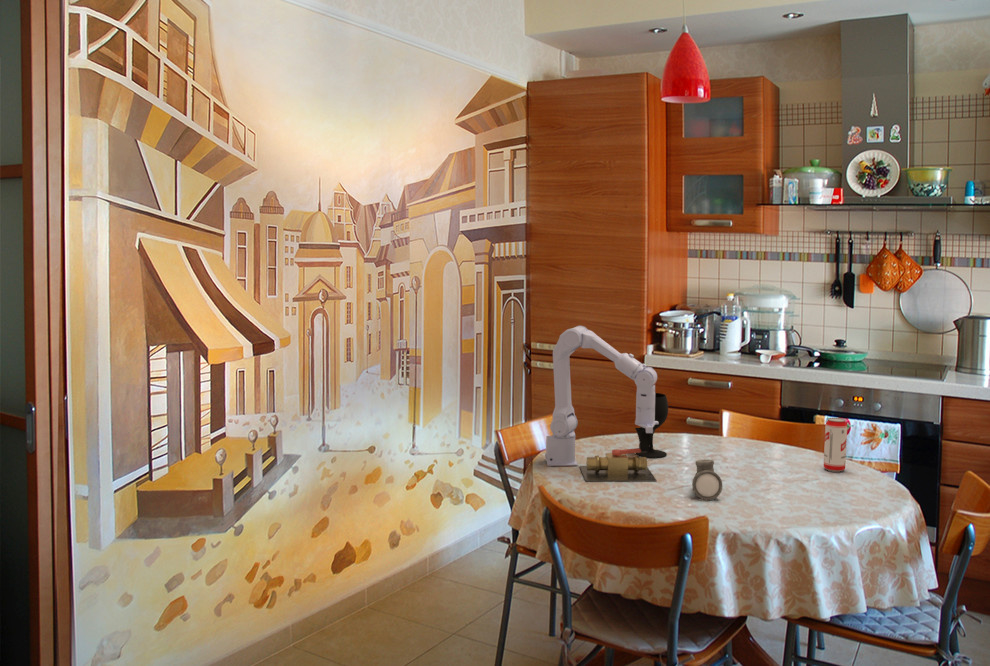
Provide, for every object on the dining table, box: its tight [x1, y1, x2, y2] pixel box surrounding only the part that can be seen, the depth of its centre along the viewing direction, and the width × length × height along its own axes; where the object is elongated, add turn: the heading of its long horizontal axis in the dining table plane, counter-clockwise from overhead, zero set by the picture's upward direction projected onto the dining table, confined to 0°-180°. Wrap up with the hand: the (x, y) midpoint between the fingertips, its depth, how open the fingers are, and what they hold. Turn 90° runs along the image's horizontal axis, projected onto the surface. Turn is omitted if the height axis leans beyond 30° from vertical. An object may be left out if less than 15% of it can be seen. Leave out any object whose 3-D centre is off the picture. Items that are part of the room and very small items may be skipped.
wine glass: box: [634, 392, 669, 459], centre depth 282 cm, size 10×10×20 cm
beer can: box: [823, 417, 848, 473], centre depth 263 cm, size 6×6×16 cm
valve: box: [579, 452, 658, 483], centre depth 260 cm, size 21×16×6 cm
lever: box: [611, 443, 644, 456], centre depth 262 cm, size 12×3×2 cm, turn 109°
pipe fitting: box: [691, 459, 723, 501], centre depth 240 cm, size 12×8×10 cm
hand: (644, 451), depth 261 cm, fingers closed, pressing on lever
